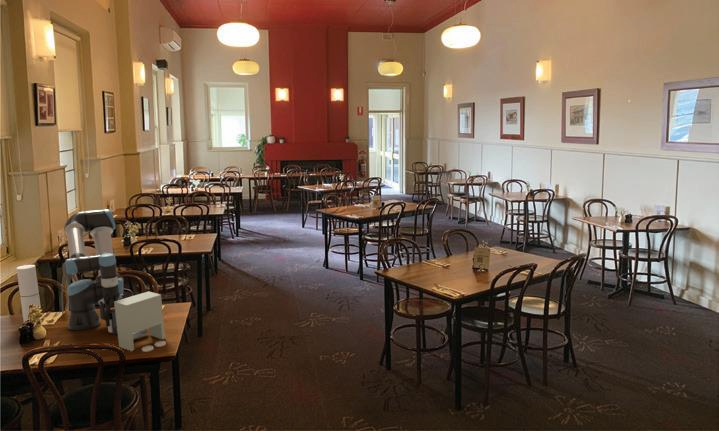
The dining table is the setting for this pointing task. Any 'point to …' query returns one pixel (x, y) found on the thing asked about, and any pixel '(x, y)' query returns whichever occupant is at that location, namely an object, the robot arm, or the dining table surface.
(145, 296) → the cabinet
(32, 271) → the container
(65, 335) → the dining table surface
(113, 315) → the scraper
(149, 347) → the coaster
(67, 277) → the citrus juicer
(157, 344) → the coaster
